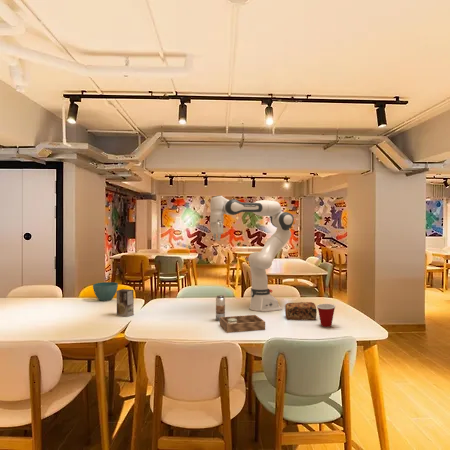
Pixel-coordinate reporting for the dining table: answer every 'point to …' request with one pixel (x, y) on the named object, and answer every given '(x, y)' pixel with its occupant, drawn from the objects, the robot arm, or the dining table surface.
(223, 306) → the canister
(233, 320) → the jar
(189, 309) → the dining table surface
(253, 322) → the crate
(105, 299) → the teal bowl
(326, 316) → the plastic cup
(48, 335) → the dining table surface
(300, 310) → the bread
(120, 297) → the coffee box
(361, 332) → the dining table surface
